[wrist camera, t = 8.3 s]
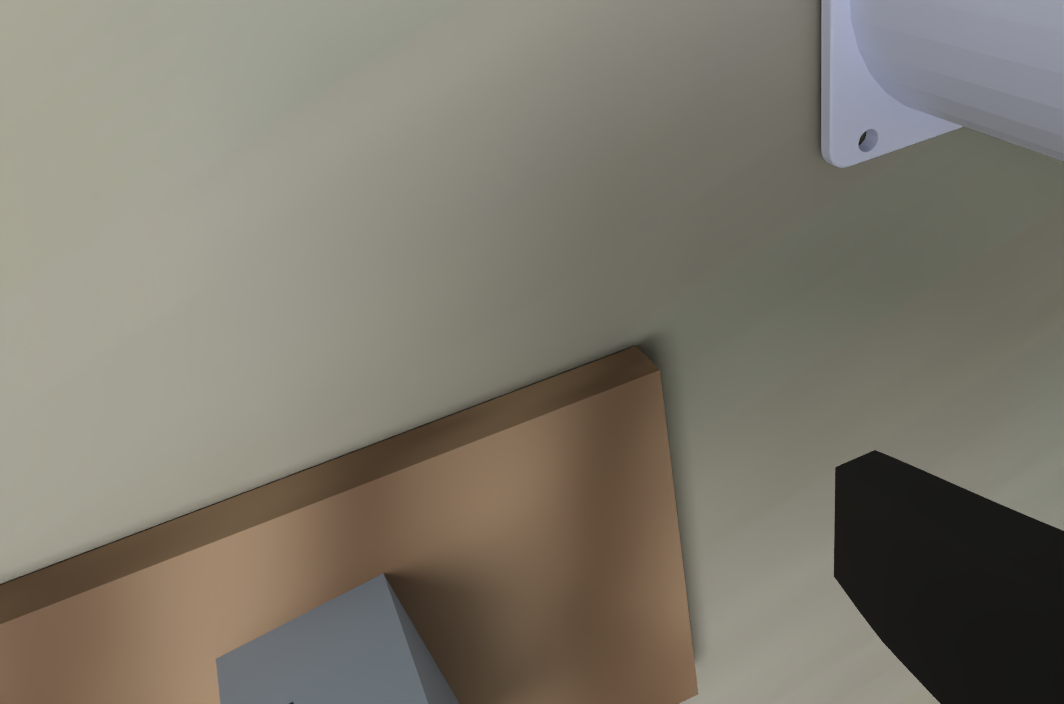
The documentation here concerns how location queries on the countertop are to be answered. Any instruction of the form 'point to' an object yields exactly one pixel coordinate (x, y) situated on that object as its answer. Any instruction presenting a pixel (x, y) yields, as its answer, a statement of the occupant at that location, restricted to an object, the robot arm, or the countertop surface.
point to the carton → (338, 657)
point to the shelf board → (404, 561)
